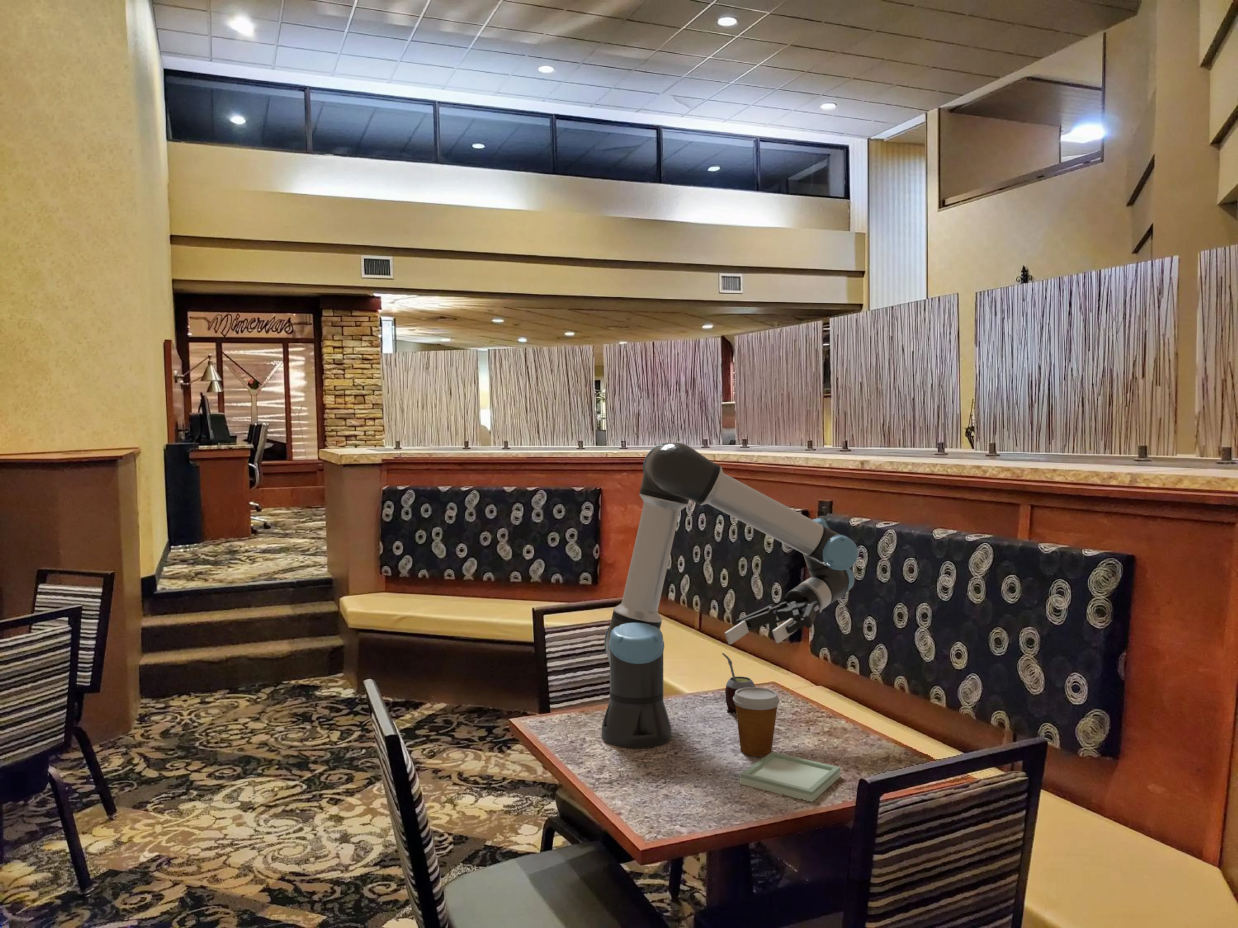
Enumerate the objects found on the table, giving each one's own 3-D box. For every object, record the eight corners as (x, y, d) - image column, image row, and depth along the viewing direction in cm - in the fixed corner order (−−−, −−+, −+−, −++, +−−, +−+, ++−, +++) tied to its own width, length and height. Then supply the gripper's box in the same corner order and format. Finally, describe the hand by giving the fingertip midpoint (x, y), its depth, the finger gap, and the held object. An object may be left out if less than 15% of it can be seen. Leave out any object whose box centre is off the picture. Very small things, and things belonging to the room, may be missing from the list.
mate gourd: (756, 709, 197) (756, 647, 197) (754, 719, 189) (754, 654, 189) (725, 707, 198) (725, 645, 198) (721, 717, 191) (721, 653, 191)
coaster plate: (740, 783, 153) (740, 773, 153) (772, 760, 164) (772, 751, 164) (811, 802, 144) (812, 791, 144) (840, 776, 156) (840, 767, 156)
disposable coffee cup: (779, 761, 164) (779, 701, 164) (731, 757, 166) (731, 698, 165) (779, 744, 173) (779, 687, 173) (734, 741, 175) (734, 685, 175)
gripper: (858, 612, 179) (803, 653, 165) (770, 617, 198) (714, 654, 184) (847, 580, 179) (791, 618, 165) (760, 588, 198) (704, 623, 184)
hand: (750, 637), depth 174 cm, fingers open, 13 cm apart
